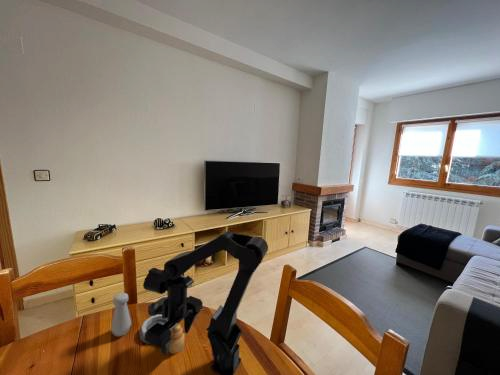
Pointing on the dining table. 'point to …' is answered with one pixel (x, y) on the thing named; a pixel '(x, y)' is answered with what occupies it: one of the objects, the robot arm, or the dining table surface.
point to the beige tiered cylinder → (176, 339)
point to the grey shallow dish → (150, 323)
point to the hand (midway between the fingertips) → (176, 343)
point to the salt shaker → (120, 315)
